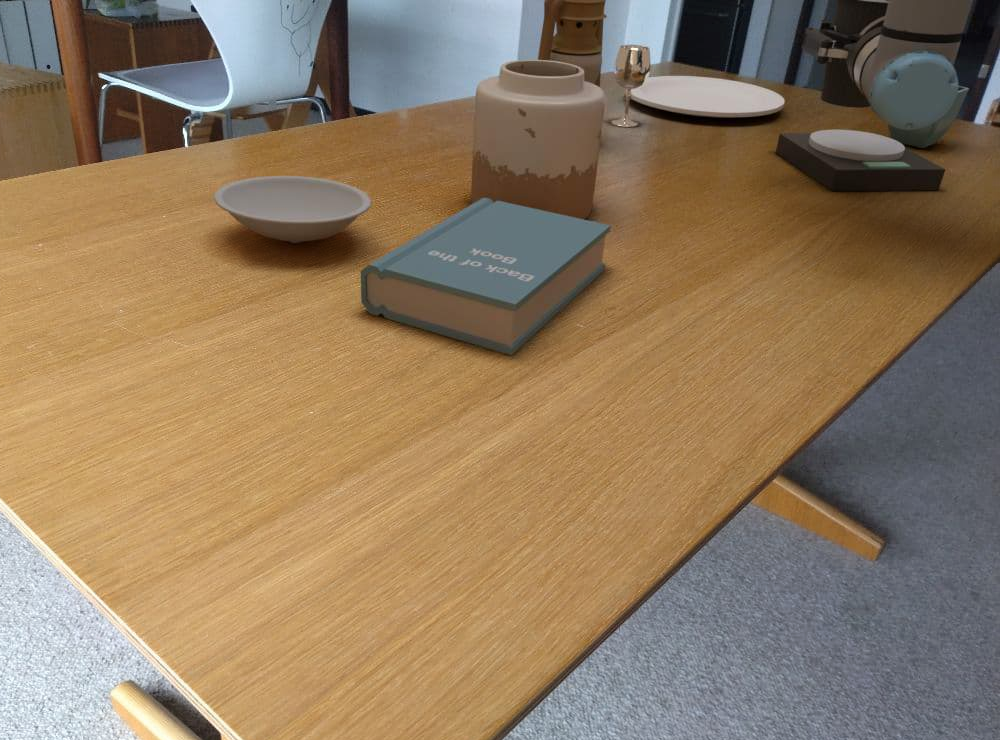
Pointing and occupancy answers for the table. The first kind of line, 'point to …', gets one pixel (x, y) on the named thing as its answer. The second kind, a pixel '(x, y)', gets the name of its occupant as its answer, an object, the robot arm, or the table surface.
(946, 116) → the flower pot
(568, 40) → the lantern
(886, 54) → the robot arm
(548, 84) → the vase
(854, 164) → the scale
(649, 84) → the plate
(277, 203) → the dish
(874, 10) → the coffee cup
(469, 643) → the table surface
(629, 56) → the wineglass
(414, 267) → the book
